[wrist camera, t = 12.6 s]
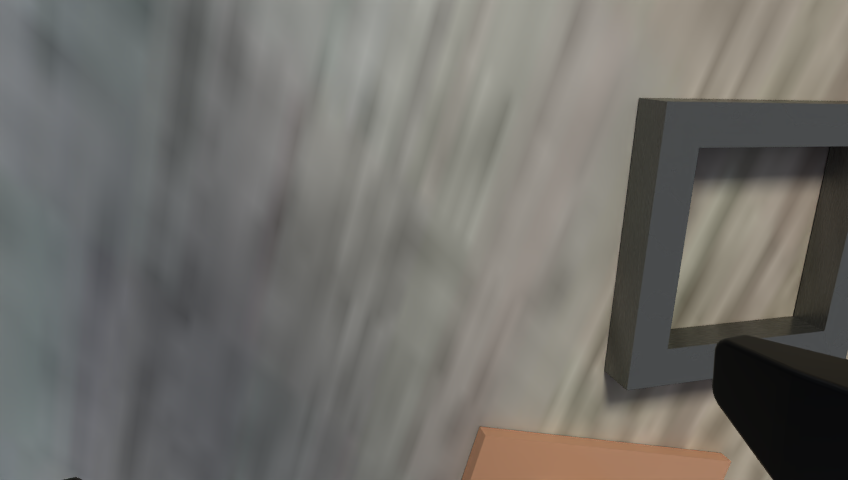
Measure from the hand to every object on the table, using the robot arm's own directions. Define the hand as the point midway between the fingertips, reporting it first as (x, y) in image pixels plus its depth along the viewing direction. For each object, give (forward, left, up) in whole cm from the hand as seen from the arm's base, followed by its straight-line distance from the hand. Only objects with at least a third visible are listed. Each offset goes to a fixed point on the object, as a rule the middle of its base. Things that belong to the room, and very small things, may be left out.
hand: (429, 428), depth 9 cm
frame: (+15, -7, -12) cm, 20 cm away
